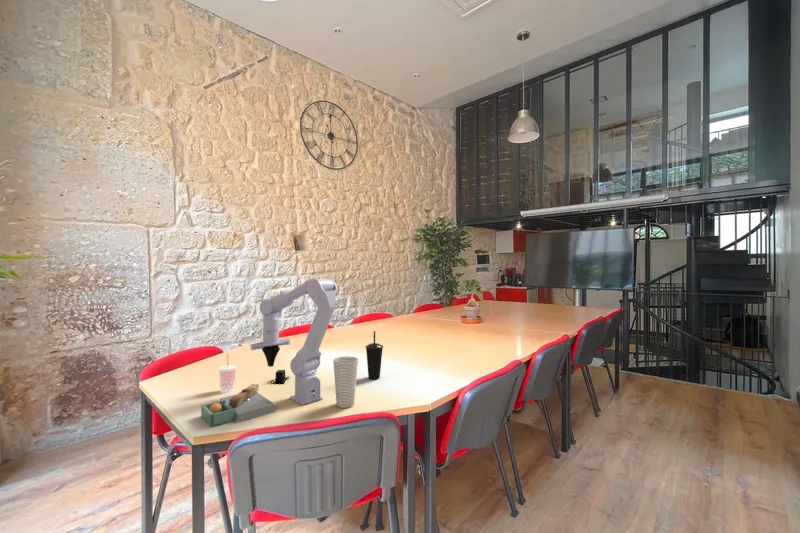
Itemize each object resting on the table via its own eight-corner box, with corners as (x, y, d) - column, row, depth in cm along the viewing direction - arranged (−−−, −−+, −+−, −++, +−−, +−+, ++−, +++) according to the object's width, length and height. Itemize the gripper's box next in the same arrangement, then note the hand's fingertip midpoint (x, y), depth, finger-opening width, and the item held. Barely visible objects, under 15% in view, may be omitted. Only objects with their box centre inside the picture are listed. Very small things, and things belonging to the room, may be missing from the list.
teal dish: (235, 420, 105) (235, 408, 105) (210, 427, 100) (211, 415, 100) (225, 410, 112) (225, 399, 112) (201, 416, 107) (201, 405, 107)
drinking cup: (382, 380, 143) (382, 333, 143) (364, 380, 143) (364, 332, 143) (383, 375, 151) (383, 329, 151) (366, 375, 151) (366, 329, 151)
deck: (274, 411, 111) (274, 404, 111) (237, 422, 103) (238, 414, 103) (254, 397, 124) (254, 390, 124) (219, 405, 116) (219, 398, 116)
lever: (236, 406, 108) (236, 398, 108) (229, 406, 108) (229, 397, 108) (258, 390, 122) (258, 383, 123) (251, 390, 123) (252, 382, 123)
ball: (207, 403, 107) (215, 405, 106) (216, 401, 110) (224, 402, 109) (206, 415, 107) (214, 417, 106) (215, 412, 110) (223, 413, 109)
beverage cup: (239, 389, 131) (240, 353, 132) (224, 394, 126) (225, 356, 126) (229, 387, 134) (230, 351, 135) (214, 391, 129) (215, 354, 129)
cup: (327, 404, 117) (328, 359, 118) (348, 398, 123) (348, 355, 124) (342, 412, 111) (342, 364, 112) (362, 405, 117) (363, 359, 117)
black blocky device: (284, 386, 137) (284, 375, 137) (266, 387, 136) (266, 375, 136) (292, 377, 149) (292, 366, 149) (275, 377, 149) (275, 366, 149)
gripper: (284, 327, 139) (284, 360, 139) (247, 331, 129) (247, 367, 129) (292, 329, 134) (292, 364, 134) (254, 333, 124) (254, 371, 124)
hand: (270, 366), depth 131 cm, fingers closed
